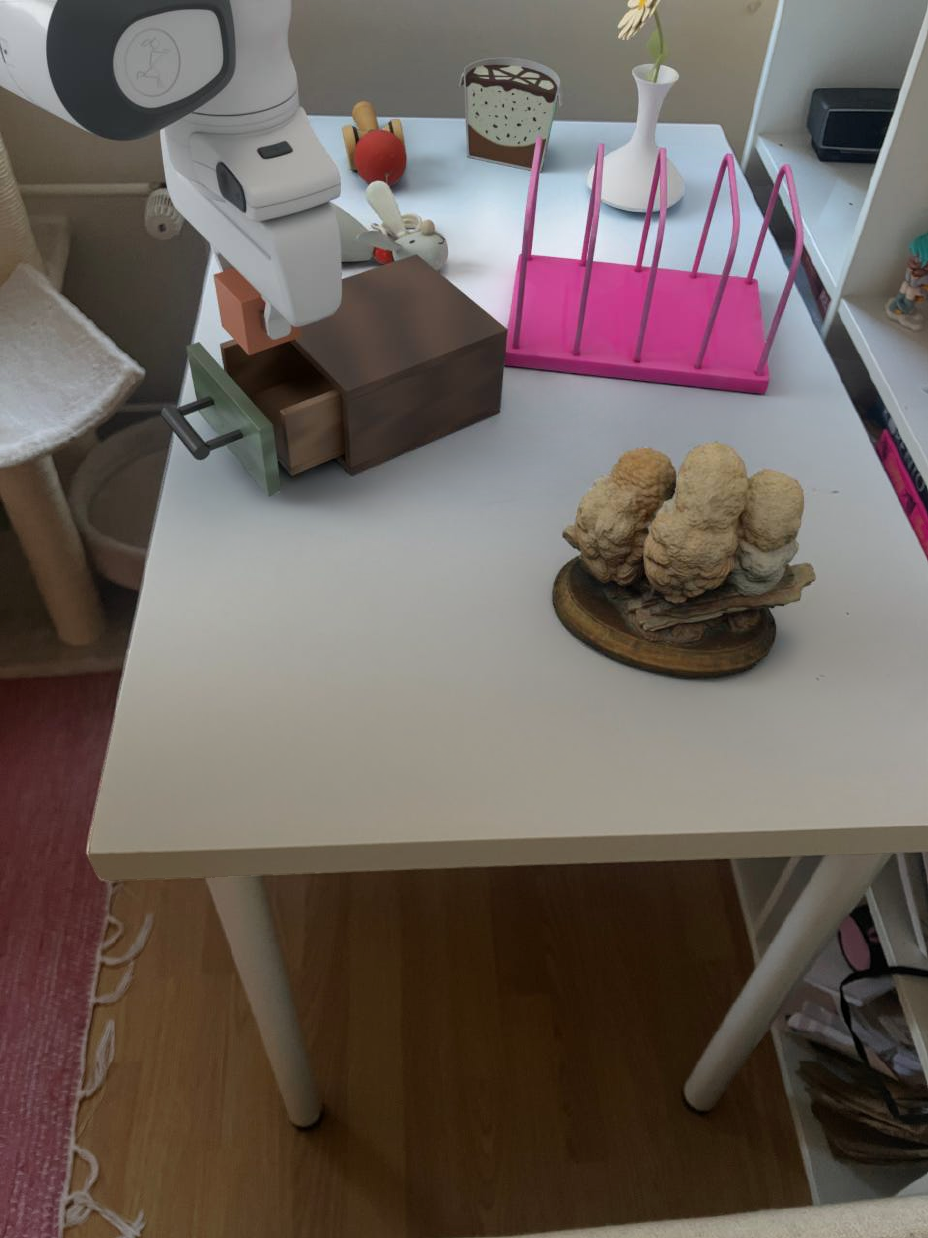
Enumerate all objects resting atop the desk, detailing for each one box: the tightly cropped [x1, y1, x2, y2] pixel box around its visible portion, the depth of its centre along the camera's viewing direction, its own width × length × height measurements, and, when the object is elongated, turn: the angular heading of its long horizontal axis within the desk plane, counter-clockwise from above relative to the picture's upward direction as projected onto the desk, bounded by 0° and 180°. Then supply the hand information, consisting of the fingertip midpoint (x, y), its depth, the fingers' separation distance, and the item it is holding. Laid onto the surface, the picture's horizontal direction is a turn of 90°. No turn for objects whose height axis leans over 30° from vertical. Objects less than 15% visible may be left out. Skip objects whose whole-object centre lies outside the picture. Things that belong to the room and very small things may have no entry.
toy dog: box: [329, 181, 449, 271], centre depth 103 cm, size 12×19×9 cm, turn 104°
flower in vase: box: [586, 0, 685, 213], centre depth 108 cm, size 13×11×25 cm
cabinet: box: [290, 254, 508, 477], centre depth 88 cm, size 16×14×9 cm
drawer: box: [160, 338, 345, 497], centre depth 84 cm, size 19×13×7 cm, turn 126°
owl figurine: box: [551, 441, 817, 679], centre depth 70 cm, size 18×12×17 cm, turn 75°
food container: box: [458, 57, 564, 174], centre depth 119 cm, size 12×6×10 cm, turn 71°
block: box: [213, 268, 301, 355], centre depth 76 cm, size 4×4×4 cm
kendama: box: [341, 100, 408, 187], centre depth 119 cm, size 8×6×18 cm
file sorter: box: [504, 136, 805, 395], centre depth 95 cm, size 17×25×16 cm
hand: (258, 314), depth 77 cm, fingers closed on block, 4 cm apart
